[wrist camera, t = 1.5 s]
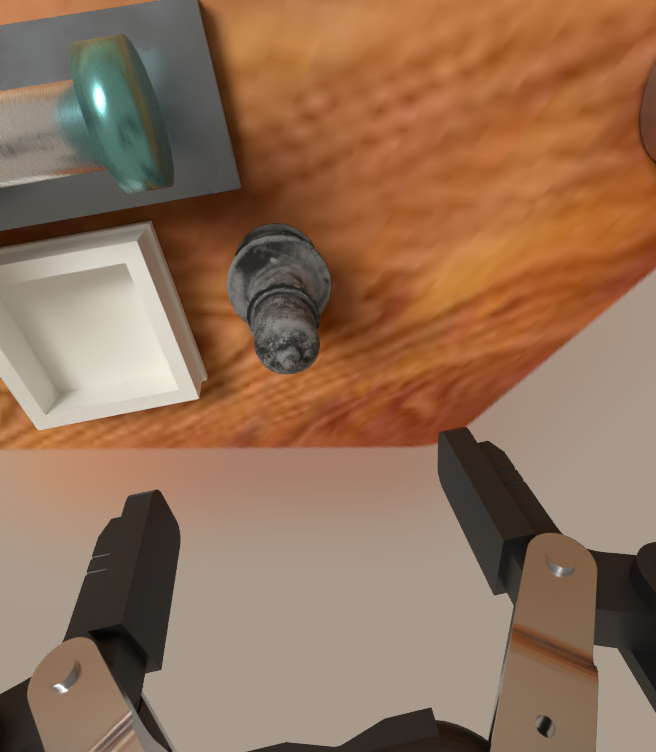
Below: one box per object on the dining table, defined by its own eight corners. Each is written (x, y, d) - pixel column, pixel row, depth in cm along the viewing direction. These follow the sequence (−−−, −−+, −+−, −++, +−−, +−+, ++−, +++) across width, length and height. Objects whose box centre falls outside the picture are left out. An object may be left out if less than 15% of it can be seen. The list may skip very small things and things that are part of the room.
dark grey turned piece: (307, 318, 29) (334, 434, 20) (220, 296, 28) (202, 411, 18) (335, 235, 26) (384, 322, 17) (241, 204, 25) (233, 282, 15)
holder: (151, 220, 24) (139, 235, 22) (207, 375, 31) (203, 401, 28) (-45, 255, 24) (-79, 274, 22) (53, 405, 30) (36, 434, 28)
